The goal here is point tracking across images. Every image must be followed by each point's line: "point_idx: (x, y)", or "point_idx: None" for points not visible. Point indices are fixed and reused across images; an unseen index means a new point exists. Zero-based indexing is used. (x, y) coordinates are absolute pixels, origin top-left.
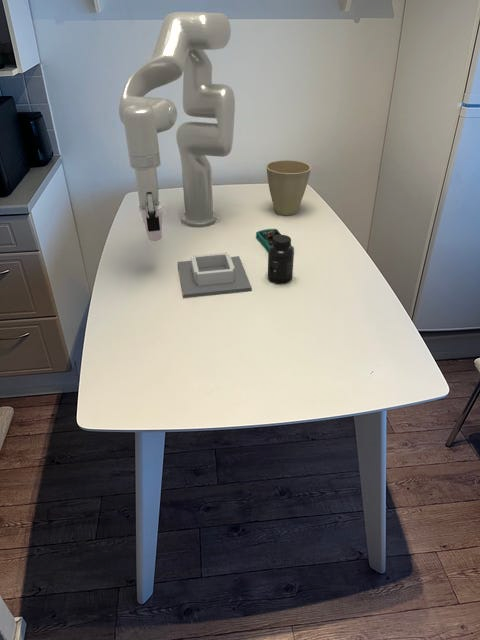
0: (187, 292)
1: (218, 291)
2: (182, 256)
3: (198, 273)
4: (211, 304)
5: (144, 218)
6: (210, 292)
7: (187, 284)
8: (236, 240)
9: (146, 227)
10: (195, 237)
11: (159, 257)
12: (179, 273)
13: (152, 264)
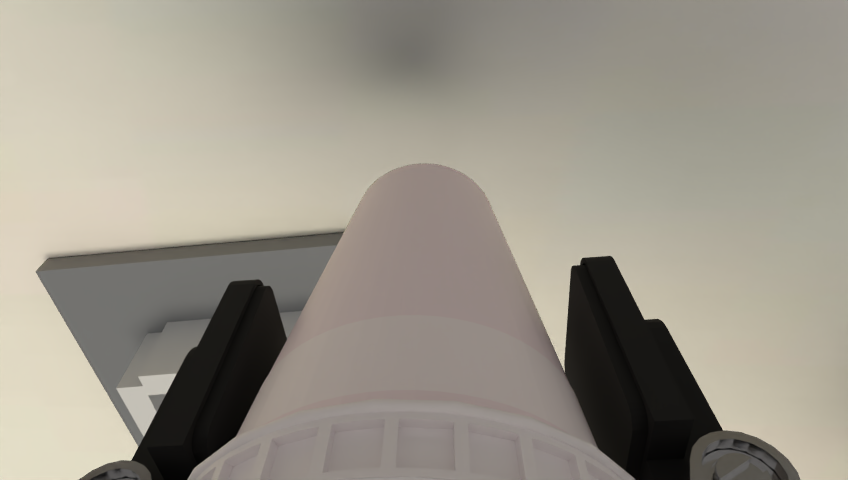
0: (65, 289)
1: (116, 404)
2: (538, 247)
3: (127, 393)
4: (24, 366)
5: (287, 358)
6: (100, 376)
7: (153, 288)
8: None
9: (340, 257)
10: (767, 309)
11: (560, 109)
12: (307, 240)
13: (462, 63)
